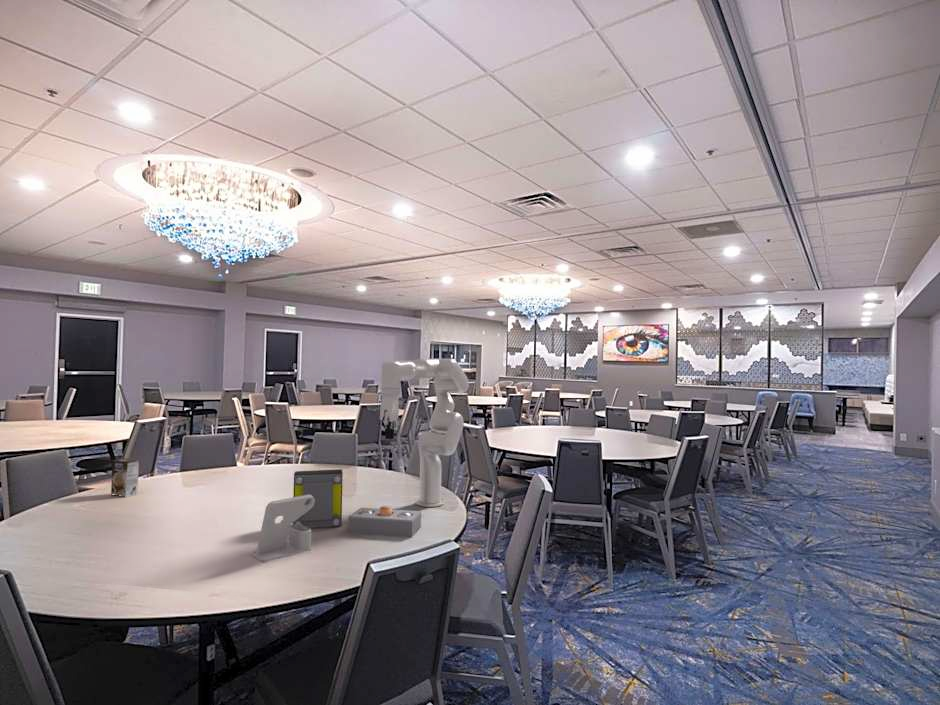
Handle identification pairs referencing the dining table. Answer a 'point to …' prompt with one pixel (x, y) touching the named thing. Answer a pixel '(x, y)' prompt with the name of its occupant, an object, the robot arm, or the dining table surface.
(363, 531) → the grey rectangular block
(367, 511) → the plunger
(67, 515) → the dining table surface
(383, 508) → the plunger rust
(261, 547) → the phone holder
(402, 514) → the plunger
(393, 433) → the robot arm
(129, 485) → the coffee box
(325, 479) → the electrical component
